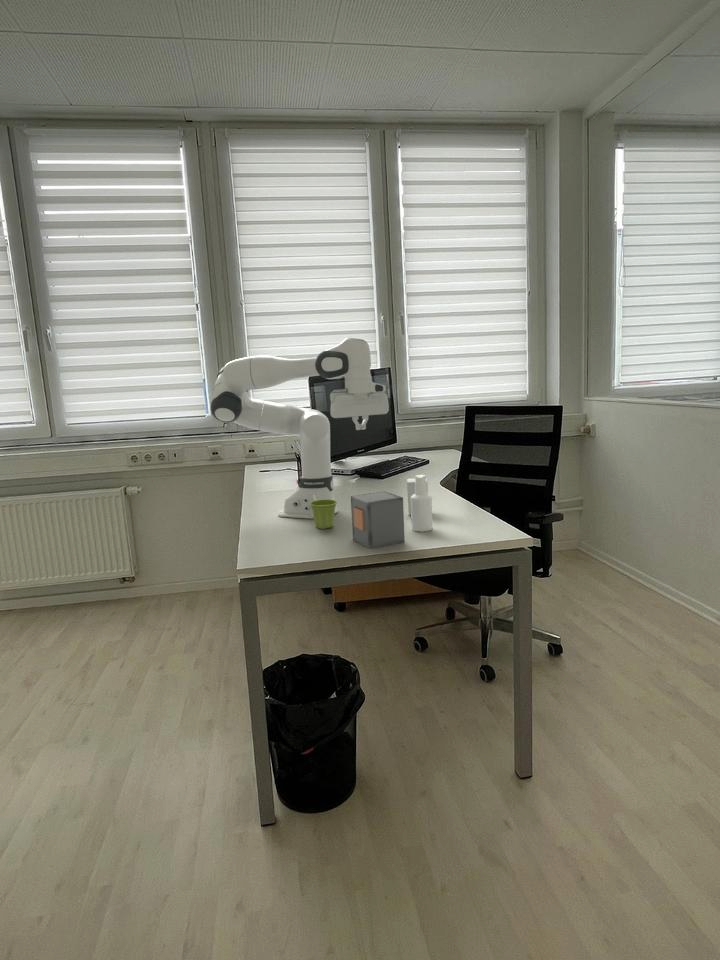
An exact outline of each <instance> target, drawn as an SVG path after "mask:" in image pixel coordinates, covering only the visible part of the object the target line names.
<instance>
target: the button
mask: <svg viewBox="0 0 720 960" xmlns="http://www.w3.org/2000/svg"><path fill="white" fill-rule="evenodd" d="M354 526H355V527H357V528H359V529H361V530H365V520H364V510H362V509H360V508H358V507H354Z"/></svg>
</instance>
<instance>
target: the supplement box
mask: <svg viewBox="0 0 720 960" xmlns="http://www.w3.org/2000/svg"><path fill="white" fill-rule="evenodd" d="M427 479H428V478H427V477H426V482H427V483H428V480H427ZM406 488H407V489H406V490H407V509H408V516H410V515H411V496H412V495H414V494H415V477H413V478H407V479H406ZM428 488H429V487H428V485H427V494H429V490H428Z"/></svg>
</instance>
